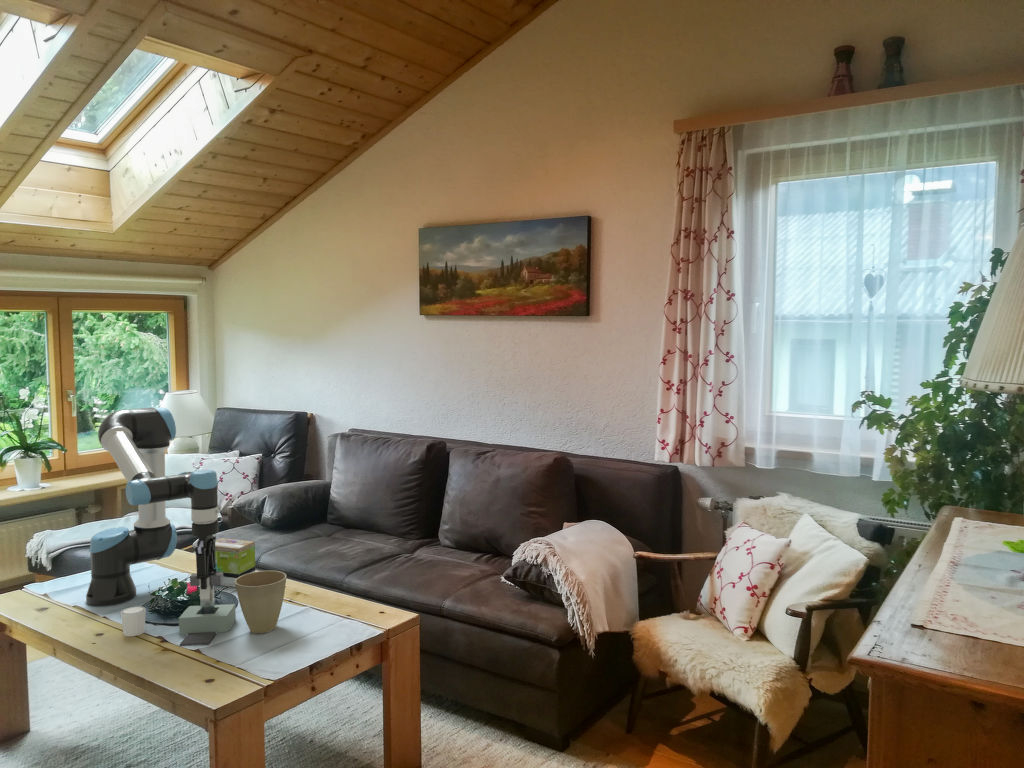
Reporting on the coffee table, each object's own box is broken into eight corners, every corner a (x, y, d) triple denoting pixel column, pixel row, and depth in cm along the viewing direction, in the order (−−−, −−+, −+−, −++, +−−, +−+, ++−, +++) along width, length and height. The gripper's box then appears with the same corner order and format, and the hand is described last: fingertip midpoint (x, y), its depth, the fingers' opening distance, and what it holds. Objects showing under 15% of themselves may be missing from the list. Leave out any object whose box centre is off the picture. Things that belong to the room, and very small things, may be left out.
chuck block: (179, 634, 225) (178, 617, 225) (189, 621, 235) (189, 606, 234) (227, 631, 226) (226, 615, 226) (235, 619, 236) (235, 604, 236)
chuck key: (190, 615, 228) (189, 577, 227) (194, 610, 232) (193, 572, 231) (221, 614, 229) (220, 575, 228) (224, 609, 233) (223, 571, 232)
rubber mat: (179, 645, 216) (179, 643, 216) (188, 635, 224) (188, 633, 224) (208, 644, 217) (208, 642, 217) (216, 633, 225) (216, 631, 225)
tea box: (203, 584, 270) (202, 544, 269) (222, 576, 280) (221, 537, 279) (239, 588, 266) (238, 547, 265) (256, 579, 275) (255, 540, 274)
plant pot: (261, 617, 239) (260, 567, 238) (297, 624, 232) (296, 574, 231) (225, 633, 225) (223, 581, 224) (262, 642, 219) (261, 589, 218)
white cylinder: (115, 635, 224) (115, 612, 224) (134, 627, 231) (133, 604, 230) (133, 638, 222) (132, 615, 221) (151, 629, 228) (151, 607, 228)
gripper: (209, 527, 221) (212, 605, 222) (225, 514, 237) (227, 586, 239) (183, 528, 220) (185, 606, 221) (200, 514, 237) (202, 587, 238)
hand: (207, 595), depth 230 cm, fingers closed on chuck key, 4 cm apart
